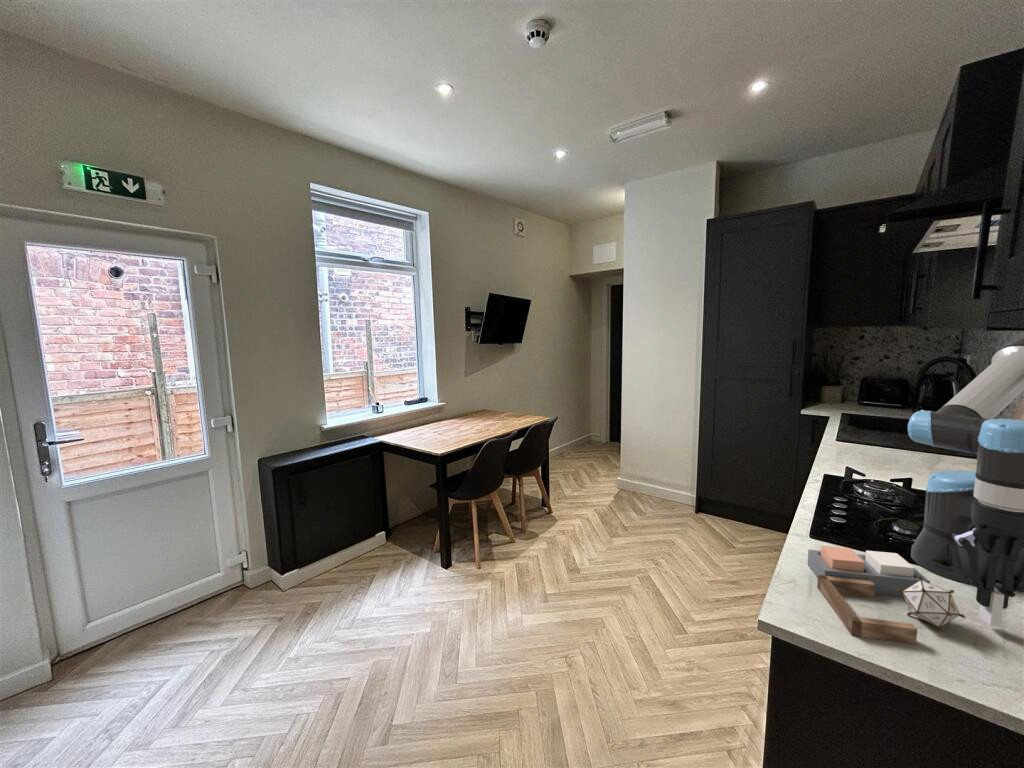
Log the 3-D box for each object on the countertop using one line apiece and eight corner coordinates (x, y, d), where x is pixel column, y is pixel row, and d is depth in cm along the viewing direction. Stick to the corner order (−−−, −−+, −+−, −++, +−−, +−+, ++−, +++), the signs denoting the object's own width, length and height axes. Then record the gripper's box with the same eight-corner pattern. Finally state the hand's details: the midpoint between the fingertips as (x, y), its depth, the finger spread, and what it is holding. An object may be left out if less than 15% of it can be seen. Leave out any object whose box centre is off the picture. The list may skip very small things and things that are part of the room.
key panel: (901, 574, 95) (902, 558, 95) (928, 598, 87) (929, 581, 86) (807, 564, 101) (808, 549, 100) (823, 586, 92) (824, 570, 92)
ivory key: (896, 565, 94) (897, 553, 94) (913, 580, 89) (914, 568, 88) (864, 562, 96) (865, 550, 96) (879, 577, 90) (880, 564, 90)
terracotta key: (849, 560, 97) (850, 548, 96) (863, 574, 91) (864, 562, 91) (820, 557, 98) (821, 545, 98) (832, 571, 93) (832, 559, 92)
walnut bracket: (870, 593, 89) (871, 580, 89) (916, 644, 75) (917, 629, 75) (817, 587, 92) (817, 575, 92) (851, 635, 78) (852, 620, 78)
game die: (914, 631, 83) (894, 577, 88) (974, 635, 78) (949, 577, 82) (908, 630, 78) (888, 572, 83) (972, 634, 72) (946, 572, 77)
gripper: (1030, 498, 76) (1015, 613, 79) (943, 493, 80) (932, 603, 83) (1072, 515, 69) (1054, 641, 72) (974, 509, 73) (961, 629, 76)
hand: (989, 621), depth 78 cm, fingers closed
